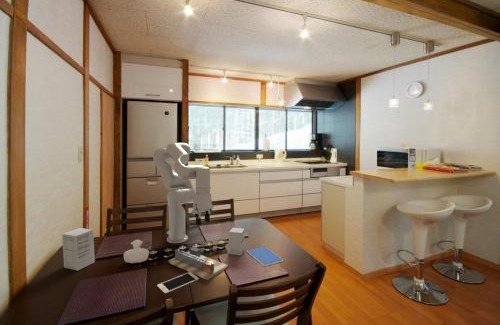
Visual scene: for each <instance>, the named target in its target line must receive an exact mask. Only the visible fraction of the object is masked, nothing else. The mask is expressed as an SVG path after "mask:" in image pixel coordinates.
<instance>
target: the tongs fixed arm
mask: <svg viewBox="0 0 500 325" xmlns="http://www.w3.org/2000/svg"><path fill="white" fill-rule="evenodd" d="M174 253H175V254H174V255H175V256H174V258H175V259H176V260H178V261H180V262H183V263H185V264H187V265H190V266H192V267H194V268H197V269H199V270H201V271H204V272H206V273H208V274H212V264H210V263H208V262H204V261H202V260H199V259H197V258H194V257H192V256H189V255H187V254H184V253H182V252H181V249H180V248H175V249H174Z"/></svg>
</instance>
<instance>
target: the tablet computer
mask: <svg viewBox="0 0 500 325" xmlns="http://www.w3.org/2000/svg"><path fill="white" fill-rule="evenodd" d="M246 253H247V254H248V255H249V256H251V257H252V258H253V259H254V260H255V261H257V263H259V264H260V265H261V266H262V267H268V266H272V265H276V264H280V263H284V262H285V261H284V259H283V258H281V257H280V256H279V255H277V254H276V253H274V252H273V251H272V250H270V248H267V246H260V247H256V248H251V249H247V250H246Z"/></svg>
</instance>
